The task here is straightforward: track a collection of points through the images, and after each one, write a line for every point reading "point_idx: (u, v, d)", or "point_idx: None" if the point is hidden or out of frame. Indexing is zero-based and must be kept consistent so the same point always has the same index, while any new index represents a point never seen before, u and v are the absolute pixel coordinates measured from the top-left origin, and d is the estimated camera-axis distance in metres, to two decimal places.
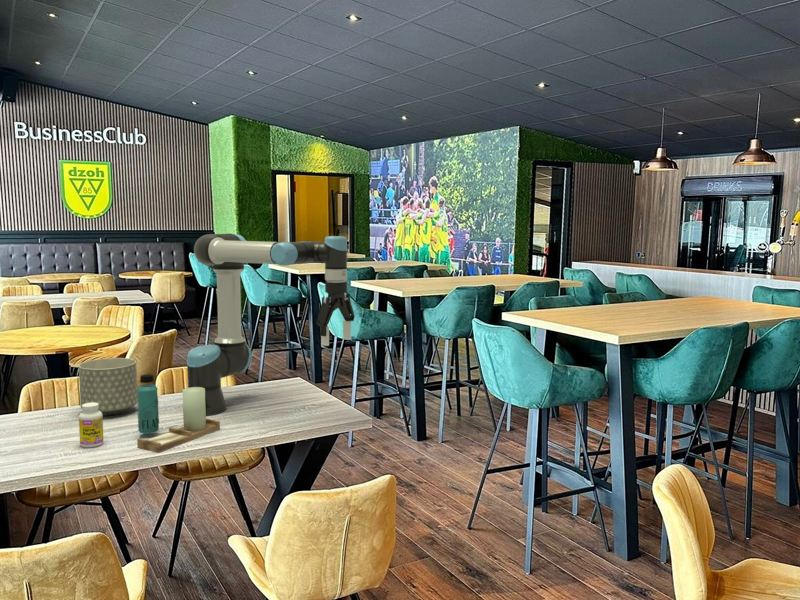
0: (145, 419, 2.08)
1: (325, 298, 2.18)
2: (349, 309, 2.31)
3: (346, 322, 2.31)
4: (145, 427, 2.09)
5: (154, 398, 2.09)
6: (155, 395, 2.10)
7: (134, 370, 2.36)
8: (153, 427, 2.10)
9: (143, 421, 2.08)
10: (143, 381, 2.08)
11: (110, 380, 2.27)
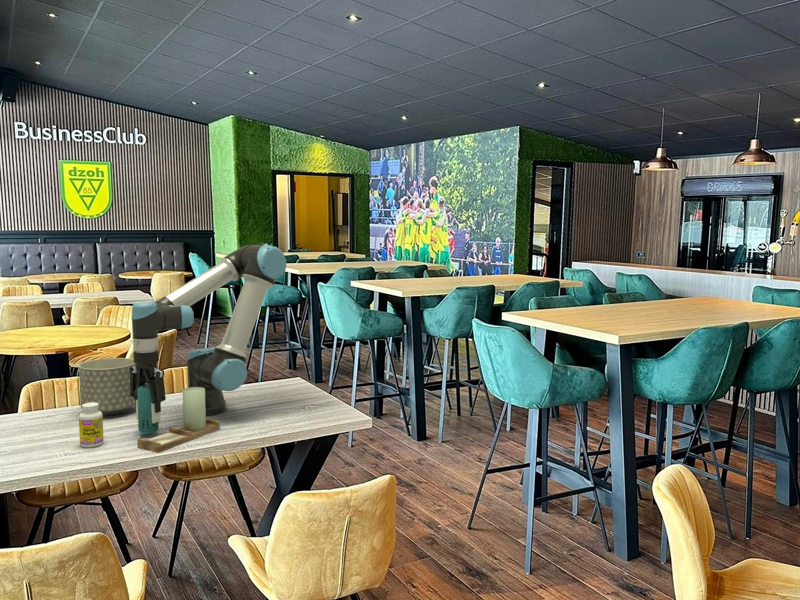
0: (145, 419, 2.08)
1: None
2: None
3: None
4: (145, 427, 2.09)
5: None
6: None
7: None
8: (153, 427, 2.10)
9: (143, 421, 2.08)
10: (143, 381, 2.08)
11: (110, 380, 2.27)
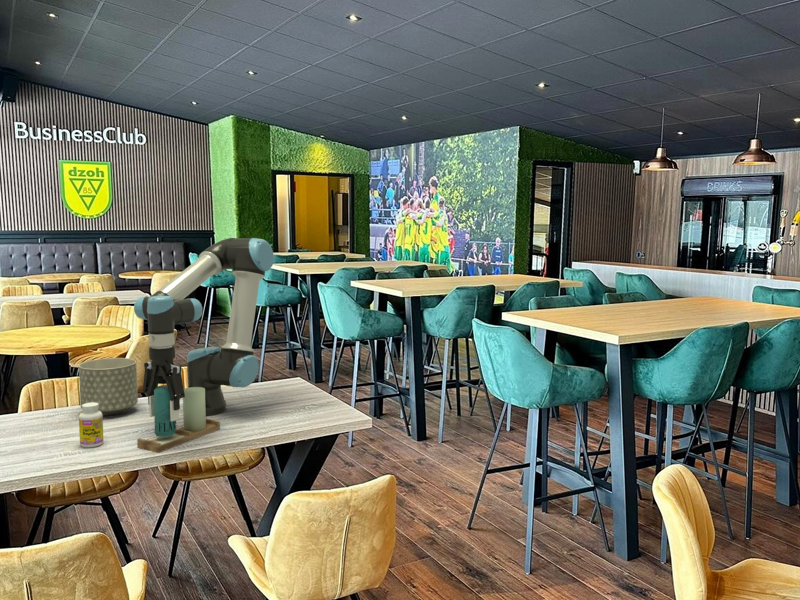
0: (162, 422, 2.00)
1: None
2: None
3: None
4: (162, 430, 2.00)
5: None
6: None
7: (134, 370, 2.36)
8: (170, 430, 2.01)
9: (160, 423, 2.00)
10: (160, 382, 2.00)
11: (110, 380, 2.27)
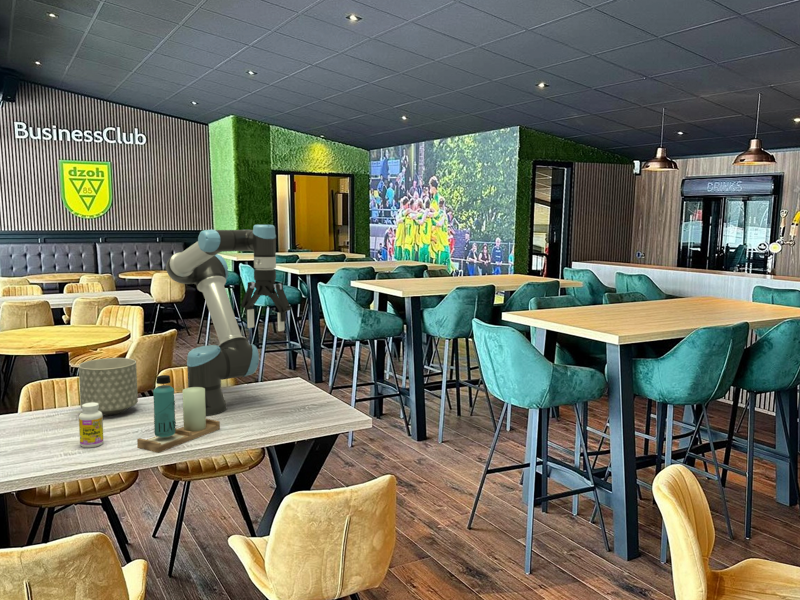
0: (161, 422, 2.00)
1: None
2: None
3: None
4: (161, 430, 2.00)
5: (171, 400, 2.01)
6: (172, 397, 2.02)
7: (134, 370, 2.36)
8: (170, 430, 2.01)
9: (159, 424, 2.00)
10: (159, 382, 2.00)
11: (110, 380, 2.27)
